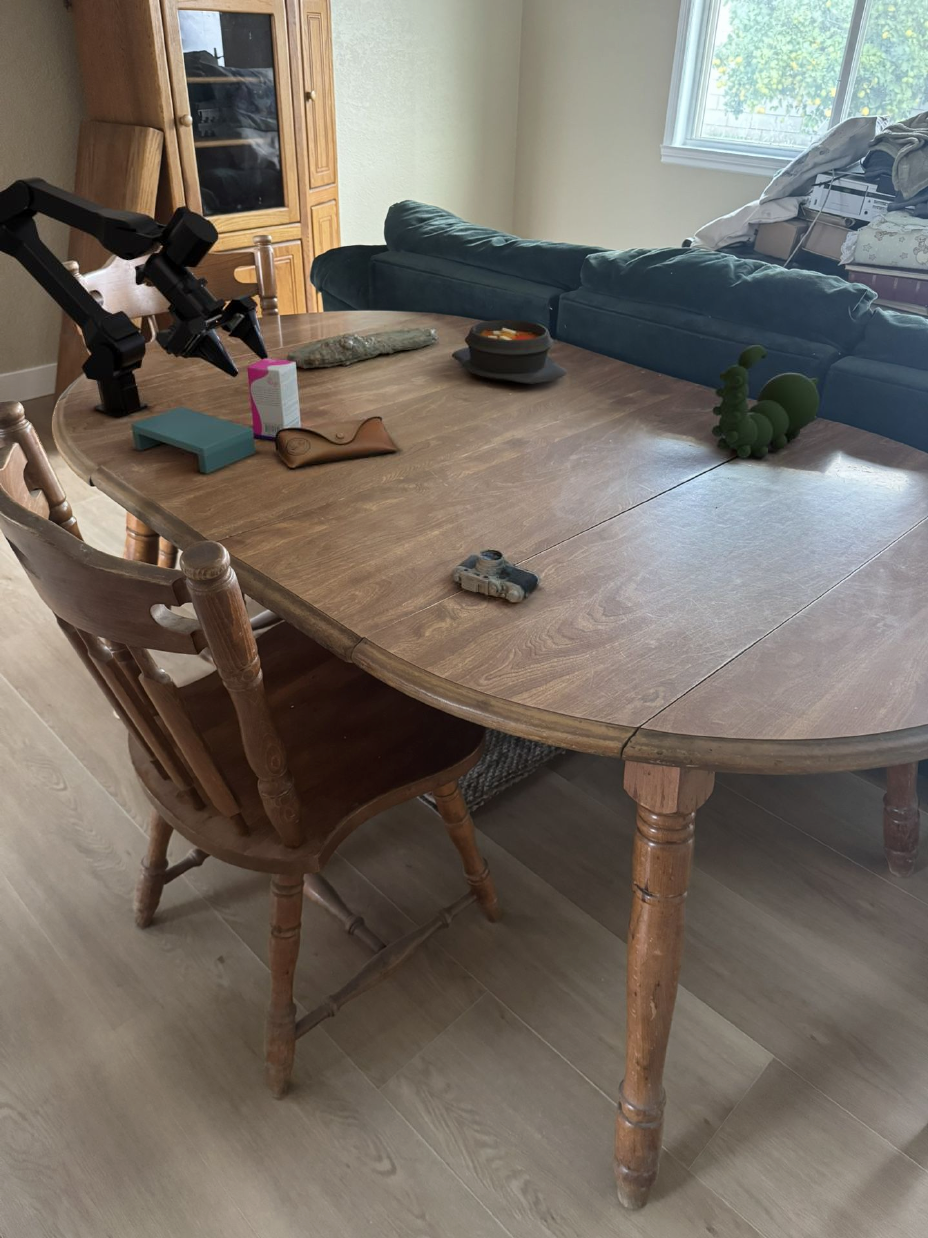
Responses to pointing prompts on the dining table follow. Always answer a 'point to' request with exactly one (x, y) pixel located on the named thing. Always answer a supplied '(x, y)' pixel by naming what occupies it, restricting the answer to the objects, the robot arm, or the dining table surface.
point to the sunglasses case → (333, 442)
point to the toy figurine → (762, 408)
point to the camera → (495, 576)
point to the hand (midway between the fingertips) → (251, 366)
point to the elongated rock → (360, 347)
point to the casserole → (509, 352)
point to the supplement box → (273, 396)
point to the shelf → (197, 436)
